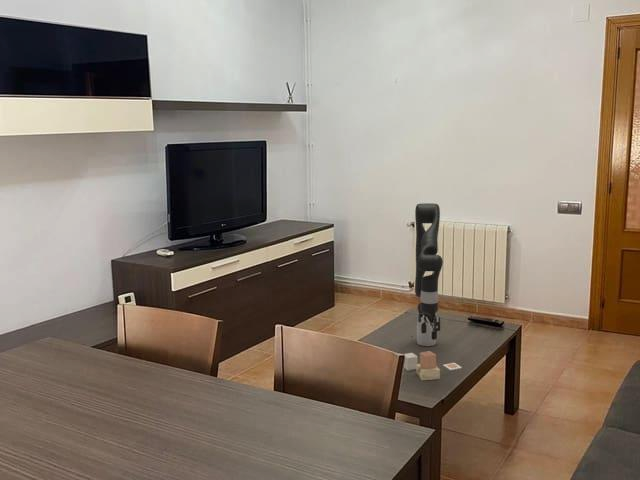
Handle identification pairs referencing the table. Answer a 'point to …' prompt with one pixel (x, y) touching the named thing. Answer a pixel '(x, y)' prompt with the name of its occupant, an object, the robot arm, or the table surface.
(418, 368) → the birch base block
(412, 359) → the grey block
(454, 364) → the card
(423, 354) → the terracotta block
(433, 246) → the robot arm
